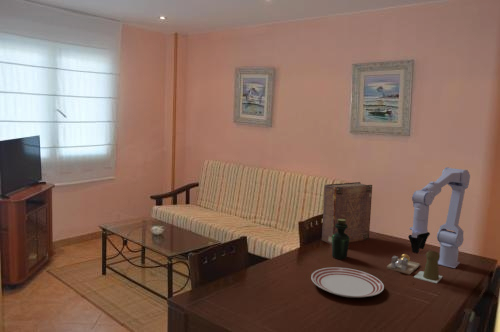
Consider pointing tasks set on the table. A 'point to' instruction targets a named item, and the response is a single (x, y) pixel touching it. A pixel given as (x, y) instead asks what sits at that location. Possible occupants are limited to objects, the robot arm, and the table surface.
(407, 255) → the shaft
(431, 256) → the olive stepped cylinder
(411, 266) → the shaft bracket
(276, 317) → the table surface
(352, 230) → the book
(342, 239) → the potion bottle
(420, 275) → the pale green mat
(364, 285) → the dinner plate
